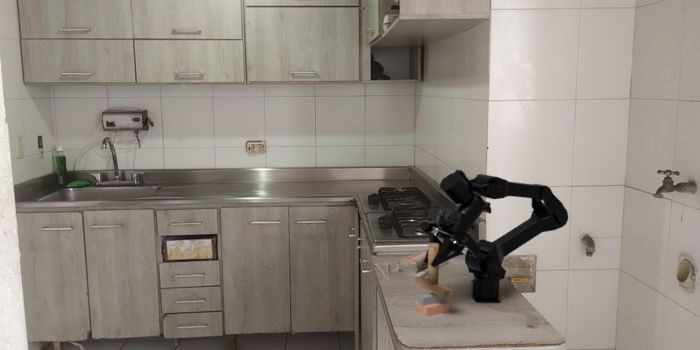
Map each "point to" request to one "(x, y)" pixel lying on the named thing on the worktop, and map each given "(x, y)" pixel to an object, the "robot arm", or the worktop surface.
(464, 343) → the worktop surface
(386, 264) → the pair of ivory hairpins
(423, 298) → the fulcrum stand
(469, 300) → the worktop surface
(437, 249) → the wooden stamp
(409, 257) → the packaged product
